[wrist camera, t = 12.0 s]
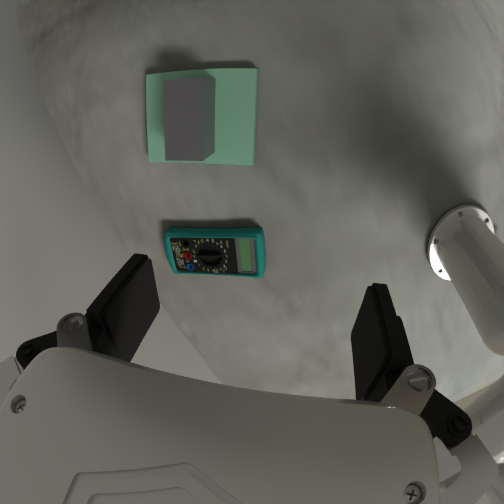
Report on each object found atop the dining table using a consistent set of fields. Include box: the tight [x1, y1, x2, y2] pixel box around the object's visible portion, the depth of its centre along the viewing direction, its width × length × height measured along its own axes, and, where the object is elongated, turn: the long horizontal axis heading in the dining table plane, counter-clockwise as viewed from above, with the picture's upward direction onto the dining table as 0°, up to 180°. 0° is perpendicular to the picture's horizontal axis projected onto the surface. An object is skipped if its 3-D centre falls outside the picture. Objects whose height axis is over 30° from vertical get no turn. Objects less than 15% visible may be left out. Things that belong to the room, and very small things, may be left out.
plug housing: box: [163, 78, 216, 161], centre depth 30 cm, size 4×9×5 cm, turn 178°
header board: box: [146, 68, 259, 166], centre depth 31 cm, size 14×12×4 cm
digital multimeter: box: [165, 227, 266, 278], centre depth 42 cm, size 7×15×3 cm, turn 94°
